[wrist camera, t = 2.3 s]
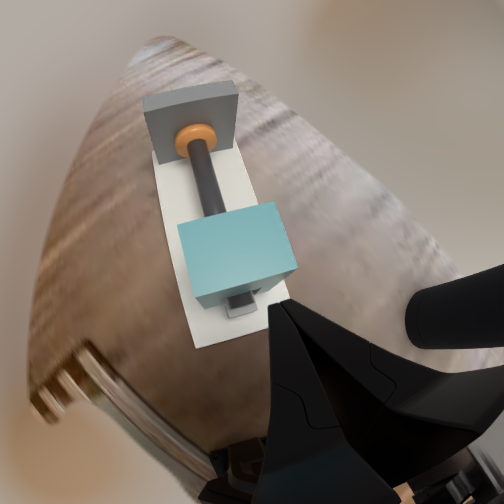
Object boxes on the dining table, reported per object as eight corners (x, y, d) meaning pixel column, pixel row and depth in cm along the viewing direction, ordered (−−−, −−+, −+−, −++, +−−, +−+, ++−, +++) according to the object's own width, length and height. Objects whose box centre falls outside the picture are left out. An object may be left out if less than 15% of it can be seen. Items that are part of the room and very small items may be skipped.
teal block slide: (291, 319, 22) (331, 312, 14) (197, 347, 20) (184, 359, 12) (231, 142, 26) (238, 78, 18) (154, 159, 25) (136, 98, 16)
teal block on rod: (269, 290, 20) (298, 267, 13) (204, 309, 19) (194, 297, 12) (254, 246, 21) (274, 200, 14) (191, 263, 20) (176, 224, 13)
